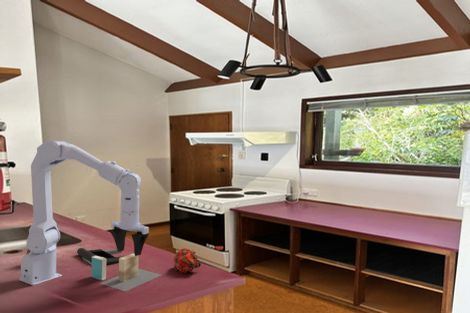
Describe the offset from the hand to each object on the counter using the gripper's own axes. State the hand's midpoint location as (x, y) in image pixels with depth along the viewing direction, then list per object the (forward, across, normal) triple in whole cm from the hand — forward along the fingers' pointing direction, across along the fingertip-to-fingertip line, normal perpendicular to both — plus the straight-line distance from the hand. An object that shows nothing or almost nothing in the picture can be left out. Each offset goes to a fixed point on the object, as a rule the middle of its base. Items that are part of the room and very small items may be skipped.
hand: (129, 253), depth 114 cm
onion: (+9, +37, +8) cm, 39 cm away
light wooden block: (+8, 0, 0) cm, 8 cm away
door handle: (+9, +23, -10) cm, 27 cm away
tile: (+5, +8, +5) cm, 11 cm away
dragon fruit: (+9, -11, -16) cm, 21 cm away
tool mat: (+9, -2, 0) cm, 9 cm away
